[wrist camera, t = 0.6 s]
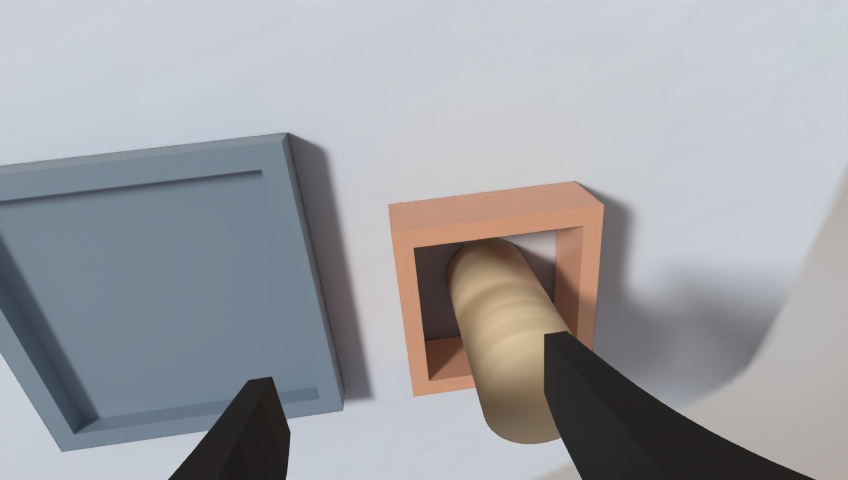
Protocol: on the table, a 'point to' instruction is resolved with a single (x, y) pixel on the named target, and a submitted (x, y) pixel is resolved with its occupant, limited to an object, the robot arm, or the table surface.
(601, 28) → the table surface
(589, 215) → the hollow square frame
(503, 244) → the maple peg
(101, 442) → the slate tray
